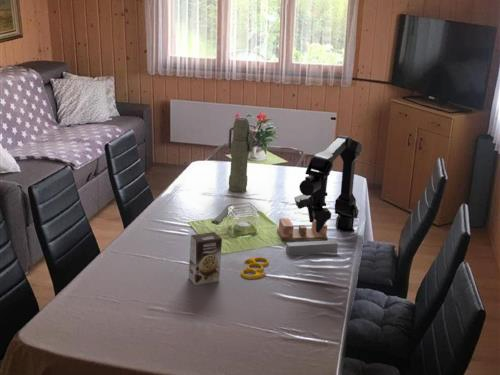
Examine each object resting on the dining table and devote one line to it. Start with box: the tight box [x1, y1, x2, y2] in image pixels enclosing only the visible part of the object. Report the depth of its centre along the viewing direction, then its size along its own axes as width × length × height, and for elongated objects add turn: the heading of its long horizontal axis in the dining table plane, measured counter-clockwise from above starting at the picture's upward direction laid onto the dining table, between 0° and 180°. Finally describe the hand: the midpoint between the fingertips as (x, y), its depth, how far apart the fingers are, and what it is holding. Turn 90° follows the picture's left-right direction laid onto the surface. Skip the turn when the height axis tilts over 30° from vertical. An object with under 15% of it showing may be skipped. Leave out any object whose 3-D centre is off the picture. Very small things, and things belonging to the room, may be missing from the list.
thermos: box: [227, 117, 254, 194], centre depth 288 cm, size 9×12×35 cm
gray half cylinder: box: [211, 204, 233, 224], centre depth 262 cm, size 4×20×2 cm, turn 163°
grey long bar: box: [285, 239, 339, 256], centre depth 233 cm, size 20×3×4 cm, turn 105°
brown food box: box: [188, 231, 223, 286], centre depth 205 cm, size 9×6×16 cm
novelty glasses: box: [240, 256, 270, 280], centre depth 217 cm, size 17×2×10 cm
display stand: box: [276, 217, 329, 242], centre depth 246 cm, size 19×9×6 cm, turn 100°
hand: (314, 227), depth 230 cm, fingers open, 9 cm apart
